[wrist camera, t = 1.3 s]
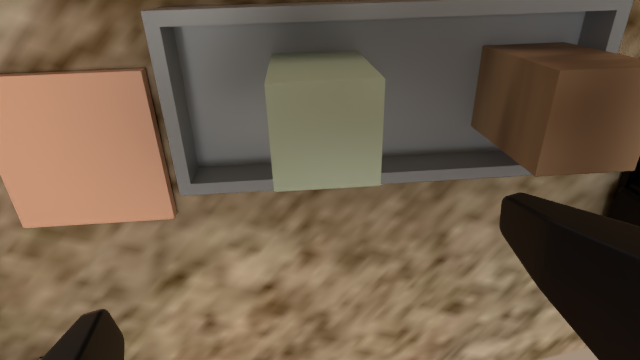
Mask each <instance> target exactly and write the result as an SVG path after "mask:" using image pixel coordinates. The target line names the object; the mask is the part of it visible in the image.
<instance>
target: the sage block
mask: <svg viewBox="0 0 640 360" xmlns="http://www.w3.org/2000/svg"><path fill="white" fill-rule="evenodd" d="M264 87H265V98H266V109H267V120H268V131H269V142H270V153H271V164H272V175H273V186H274V192H281V191H298V190H315V189H332V188H349V187H366V186H381V165H382V143H383V121H384V99H385V78H384V77H383V76H382V75H381V74H380V73H379V72H378V71H377V70H376V69H375V68H374V67H373V66H372V65H371V64H370V63H369V62H368V61H367V60H366V59H365V58H364V57H363V56H362V55H361V54H360V53H359V52H358V51H333V52H309V53H284V54H271V57H270V61H269V65H268V70H267V74H266V78H265V83H264Z"/></svg>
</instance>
